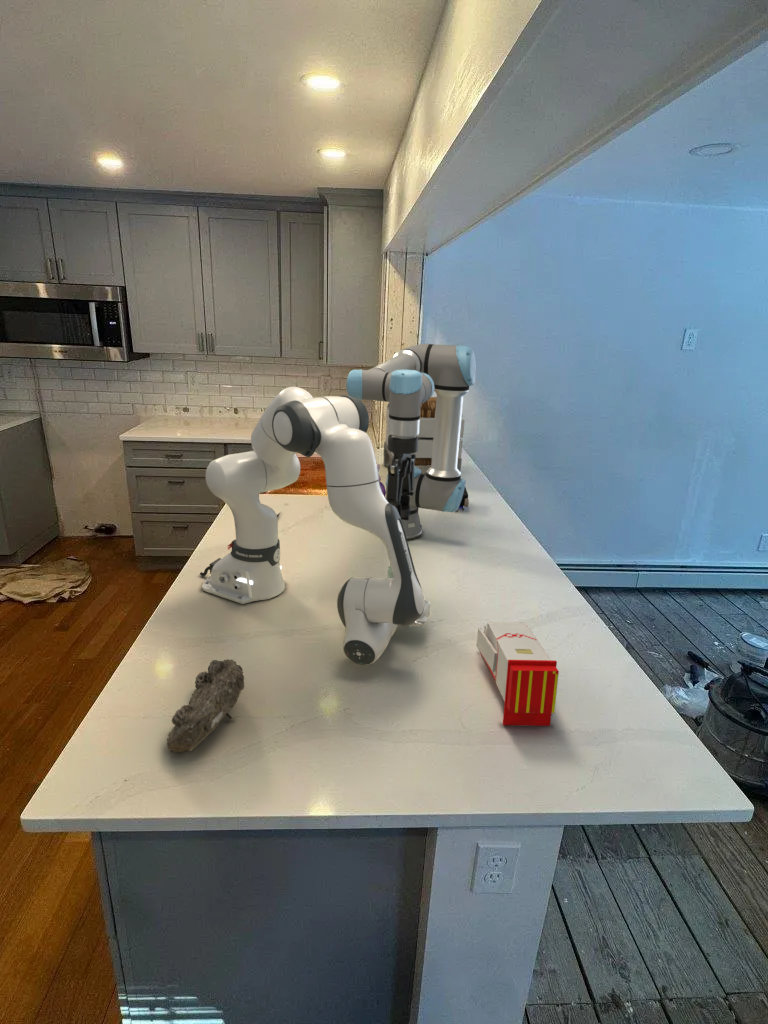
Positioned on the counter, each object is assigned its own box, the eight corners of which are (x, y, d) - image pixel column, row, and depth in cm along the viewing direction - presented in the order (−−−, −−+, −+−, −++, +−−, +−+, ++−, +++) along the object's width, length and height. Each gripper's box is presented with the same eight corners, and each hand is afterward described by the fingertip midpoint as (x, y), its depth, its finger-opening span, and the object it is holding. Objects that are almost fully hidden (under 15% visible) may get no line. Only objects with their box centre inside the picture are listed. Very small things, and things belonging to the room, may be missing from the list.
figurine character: (468, 516, 224) (463, 500, 237) (471, 498, 221) (465, 483, 234) (452, 515, 224) (447, 499, 237) (453, 498, 220) (449, 482, 234)
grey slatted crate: (382, 463, 289) (386, 382, 275) (445, 464, 293) (451, 384, 279) (390, 482, 257) (394, 392, 243) (460, 483, 261) (468, 394, 247)
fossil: (192, 660, 117) (244, 628, 112) (224, 691, 120) (276, 661, 115) (142, 746, 98) (202, 712, 93) (182, 779, 101) (242, 748, 96)
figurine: (370, 505, 227) (371, 469, 222) (359, 497, 235) (360, 462, 230) (391, 502, 231) (393, 467, 226) (379, 495, 240) (381, 460, 234)
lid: (413, 512, 148) (413, 505, 147) (406, 519, 143) (406, 512, 142) (393, 509, 149) (393, 501, 149) (385, 516, 145) (386, 508, 144)
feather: (287, 506, 225) (290, 502, 224) (270, 530, 198) (272, 526, 198) (283, 504, 225) (286, 500, 224) (265, 527, 198) (268, 523, 197)
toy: (524, 607, 134) (567, 667, 105) (519, 659, 137) (560, 732, 107) (473, 606, 133) (502, 666, 104) (469, 658, 136) (497, 731, 107)
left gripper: (424, 613, 130) (437, 587, 142) (341, 598, 135) (360, 574, 147) (423, 637, 132) (435, 609, 144) (340, 621, 137) (359, 595, 150)
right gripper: (402, 426, 148) (398, 509, 156) (374, 441, 132) (371, 532, 140) (429, 429, 145) (424, 513, 154) (404, 445, 129) (399, 538, 138)
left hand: (396, 591), depth 146 cm, fingers closed on jar, 5 cm apart
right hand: (399, 522), depth 147 cm, fingers closed on lid, 5 cm apart
